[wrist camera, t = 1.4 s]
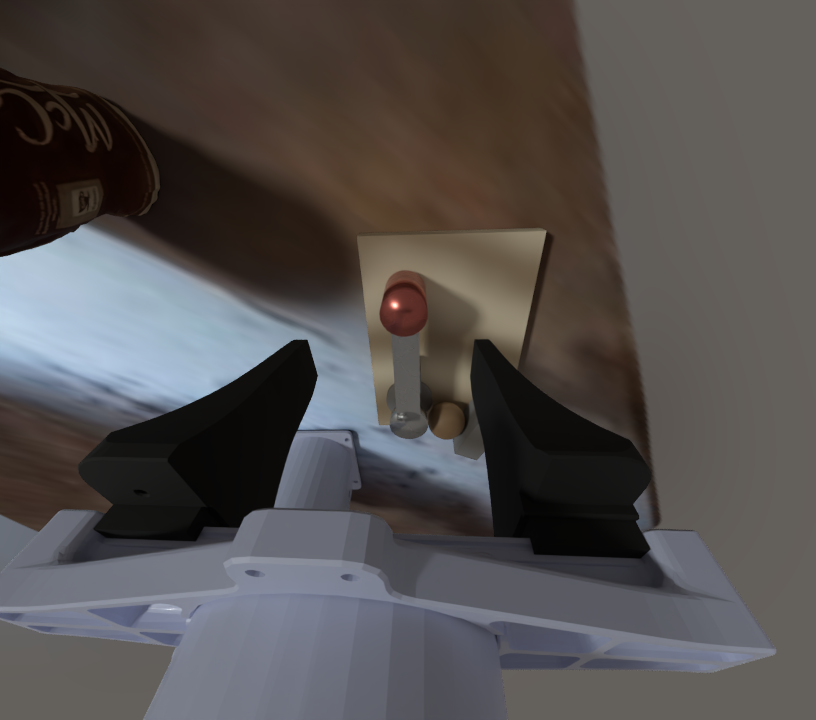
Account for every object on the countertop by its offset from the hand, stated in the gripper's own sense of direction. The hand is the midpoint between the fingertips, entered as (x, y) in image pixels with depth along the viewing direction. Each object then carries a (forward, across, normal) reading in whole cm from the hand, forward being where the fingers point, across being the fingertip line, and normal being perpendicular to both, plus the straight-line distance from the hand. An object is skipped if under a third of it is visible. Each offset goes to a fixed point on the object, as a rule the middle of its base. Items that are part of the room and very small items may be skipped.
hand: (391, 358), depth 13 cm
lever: (+9, 0, +6) cm, 11 cm away
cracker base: (+10, -3, +7) cm, 12 cm away
